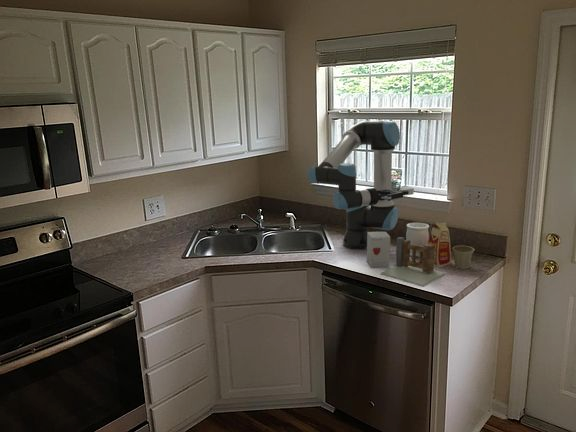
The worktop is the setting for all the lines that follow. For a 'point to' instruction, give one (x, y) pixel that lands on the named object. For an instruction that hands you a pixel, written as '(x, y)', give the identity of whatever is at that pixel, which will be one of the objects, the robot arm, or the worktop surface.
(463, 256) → the flower pot
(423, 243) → the jar
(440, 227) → the milk carton
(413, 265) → the gate
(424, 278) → the gate frame
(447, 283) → the worktop surface
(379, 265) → the supplement box
